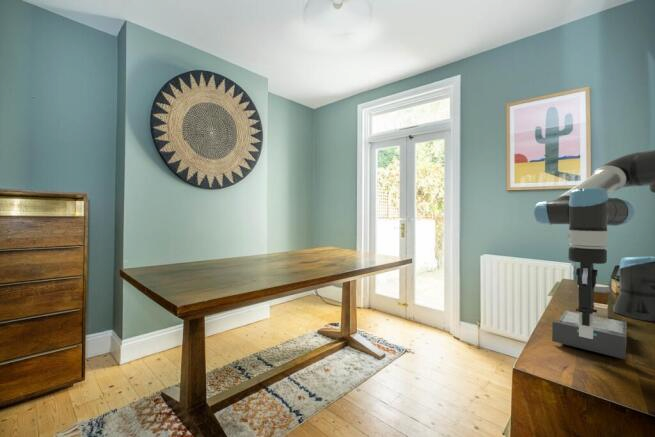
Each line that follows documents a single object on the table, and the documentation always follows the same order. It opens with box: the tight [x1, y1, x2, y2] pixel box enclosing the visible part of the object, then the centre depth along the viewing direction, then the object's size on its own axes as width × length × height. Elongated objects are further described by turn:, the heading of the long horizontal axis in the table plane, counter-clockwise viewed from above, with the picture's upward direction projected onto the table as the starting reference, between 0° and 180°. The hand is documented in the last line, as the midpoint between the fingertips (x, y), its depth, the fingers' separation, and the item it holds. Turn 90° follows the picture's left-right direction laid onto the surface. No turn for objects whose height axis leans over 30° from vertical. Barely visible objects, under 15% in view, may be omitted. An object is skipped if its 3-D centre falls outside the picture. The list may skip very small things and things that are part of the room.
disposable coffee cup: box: [577, 282, 612, 305], centre depth 113 cm, size 10×10×12 cm
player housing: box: [558, 310, 627, 337], centre depth 92 cm, size 15×15×4 cm
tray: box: [551, 320, 627, 360], centre depth 84 cm, size 14×15×6 cm
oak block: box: [593, 303, 609, 319], centre depth 102 cm, size 6×6×7 cm
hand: (585, 336), depth 76 cm, fingers closed
